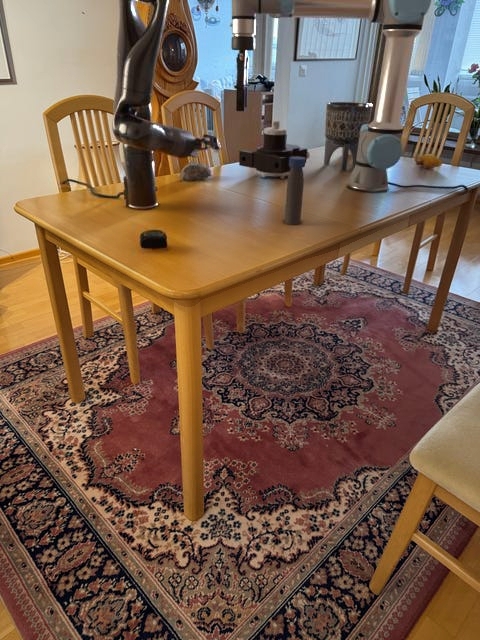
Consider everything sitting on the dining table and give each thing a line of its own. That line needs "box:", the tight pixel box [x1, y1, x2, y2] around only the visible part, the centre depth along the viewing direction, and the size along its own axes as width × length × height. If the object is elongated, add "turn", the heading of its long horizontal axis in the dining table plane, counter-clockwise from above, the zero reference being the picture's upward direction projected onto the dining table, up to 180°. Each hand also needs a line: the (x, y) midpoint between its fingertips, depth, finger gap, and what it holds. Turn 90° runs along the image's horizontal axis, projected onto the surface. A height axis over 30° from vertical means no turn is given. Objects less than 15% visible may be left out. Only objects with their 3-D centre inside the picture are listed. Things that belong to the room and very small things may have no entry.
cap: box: [289, 156, 306, 169], centre depth 130 cm, size 5×5×2 cm
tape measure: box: [139, 229, 168, 250], centre depth 117 cm, size 7×7×4 cm
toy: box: [413, 153, 443, 170], centre depth 212 cm, size 11×6×15 cm
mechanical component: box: [238, 120, 311, 179], centre depth 191 cm, size 22×21×30 cm
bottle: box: [284, 167, 305, 226], centre depth 134 cm, size 5×5×18 cm
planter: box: [323, 101, 374, 172], centre depth 204 cm, size 20×20×26 cm
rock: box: [179, 160, 213, 182], centre depth 182 cm, size 13×9×6 cm, turn 131°
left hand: (207, 150), depth 140 cm, fingers open, 8 cm apart
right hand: (241, 109), depth 155 cm, fingers open, 13 cm apart
